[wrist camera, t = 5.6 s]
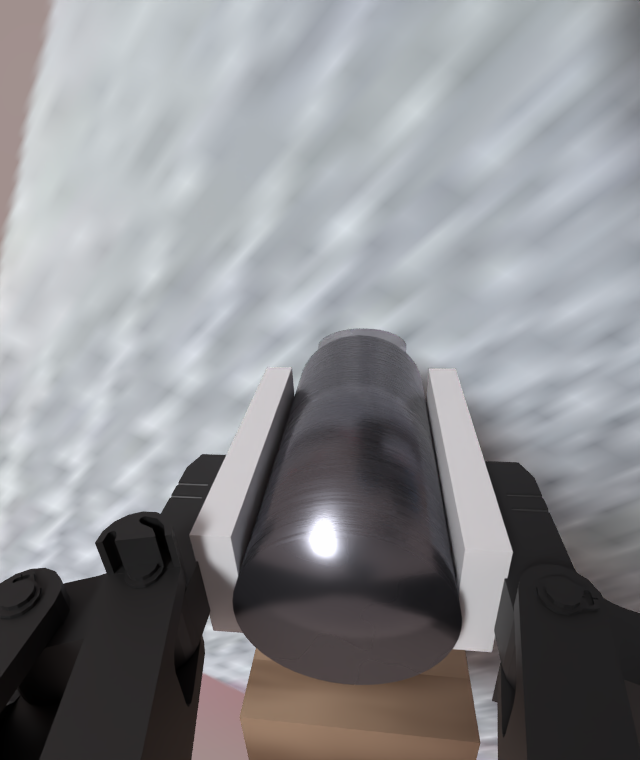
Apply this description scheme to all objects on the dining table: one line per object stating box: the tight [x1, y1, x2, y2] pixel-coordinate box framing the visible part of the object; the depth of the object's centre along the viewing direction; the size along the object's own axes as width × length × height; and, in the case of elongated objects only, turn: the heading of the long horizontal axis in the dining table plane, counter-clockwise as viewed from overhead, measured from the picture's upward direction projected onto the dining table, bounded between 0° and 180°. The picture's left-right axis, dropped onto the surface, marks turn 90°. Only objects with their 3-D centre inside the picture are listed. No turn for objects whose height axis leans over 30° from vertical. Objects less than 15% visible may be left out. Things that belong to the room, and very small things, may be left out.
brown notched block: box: [240, 648, 480, 760], centre depth 26 cm, size 6×10×12 cm, turn 92°
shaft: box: [232, 329, 462, 685], centre depth 17 cm, size 21×4×11 cm, turn 2°
